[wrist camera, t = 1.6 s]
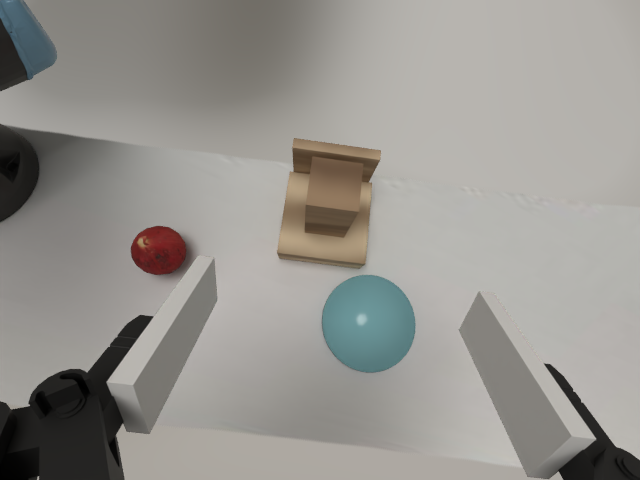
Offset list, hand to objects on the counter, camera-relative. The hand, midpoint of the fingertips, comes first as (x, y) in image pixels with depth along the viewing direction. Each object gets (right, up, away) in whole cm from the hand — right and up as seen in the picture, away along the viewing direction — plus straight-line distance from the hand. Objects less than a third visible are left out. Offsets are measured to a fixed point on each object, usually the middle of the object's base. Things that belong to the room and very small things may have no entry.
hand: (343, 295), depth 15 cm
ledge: (-1, +5, +27) cm, 27 cm away
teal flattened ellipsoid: (+5, -8, +24) cm, 26 cm away
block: (0, +6, +23) cm, 23 cm away
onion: (-21, +1, +25) cm, 32 cm away
